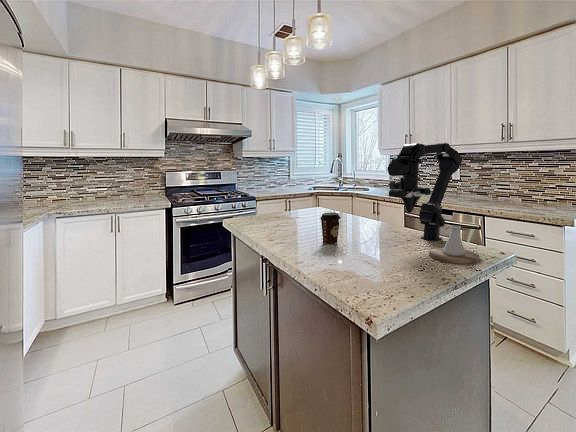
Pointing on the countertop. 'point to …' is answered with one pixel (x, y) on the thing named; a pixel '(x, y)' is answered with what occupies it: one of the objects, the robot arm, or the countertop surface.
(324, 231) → the coffee cup
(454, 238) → the flask
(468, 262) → the walnut board
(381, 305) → the countertop surface
